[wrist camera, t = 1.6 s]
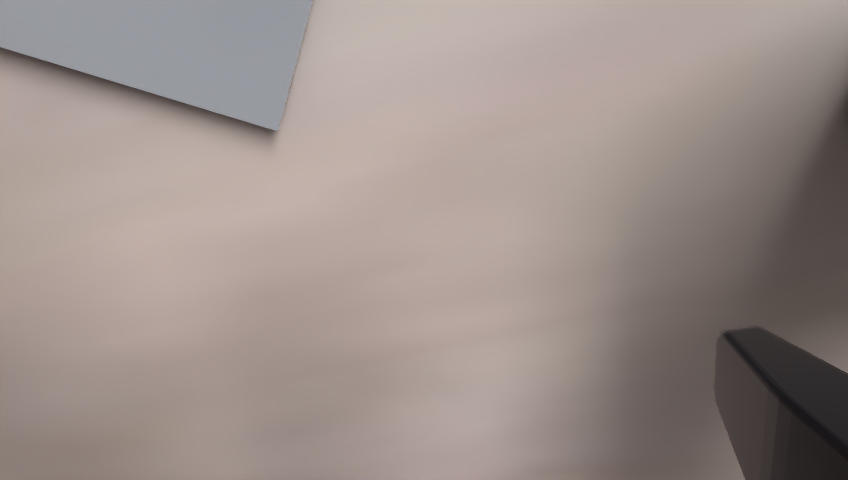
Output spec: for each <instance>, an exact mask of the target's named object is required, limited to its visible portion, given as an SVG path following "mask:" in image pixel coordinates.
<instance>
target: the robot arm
mask: <svg viewBox="0 0 848 480" xmlns="http://www.w3.org/2000/svg"><path fill="white" fill-rule="evenodd" d="M714 390H715V397H716V402H717V406H718V409H719V412H720V414H721V417H722V420H723V422H724V425H725V427H726V430H727V433H728V435H729V438H730V440H731V443H732V446H733V448H734V451H735V454H736V456H737V459H738V461H739V464H740V467H741V469H742V472H743V475H744V477H745V480H848V374H847V373H846V372H844V371H842V370H840V369H838V368H836V367H834V366H833V365H831V364H829V363H827V362H825V361H823V360H821V359H819V358H818V357H816V356H814V355H812V354H810V353H808V352H806V351H805V350H803V349H801V348H799V347H797V346H795V345H793V344H791V343H790V342H788V341H786V340H784V339H782V338H780V337H778V336H777V335H775V334H773V333H771V332H769V331H767V330H765V329H764V328H761V327H759V326H746V327H739V328H732V329H725V330H723V331H722V332H721V333H720V334H719V336H718V338H717V344H716V364H715V383H714Z"/></svg>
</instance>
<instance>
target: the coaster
mask: <svg viewBox="0 0 848 480" xmlns="http://www.w3.org/2000/svg"><path fill="white" fill-rule="evenodd" d="M312 4H313V0H0V47H2V48H5V49H8V50H11V51H15V52H18V53H21V54H25V55H28V56H31V57H35V58H38V59H41V60H44V61H48V62H51V63H54V64H58V65H61V66H64V67H67V68H71V69H74V70H77V71H81V72H84V73H87V74H90V75H94V76H97V77H100V78H104V79H107V80H110V81H114V82H117V83H120V84H123V85H127V86H130V87H133V88H137V89H140V90H143V91H146V92H150V93H153V94H156V95H160V96H163V97H166V98H170V99H173V100H176V101H179V102H183V103H186V104H189V105H193V106H196V107H199V108H202V109H206V110H209V111H212V112H216V113H219V114H222V115H226V116H229V117H232V118H235V119H239V120H242V121H245V122H249V123H252V124H255V125H258V126H262V127H265V128H268V129H272V130H275V131H278V129H279V127H280V124H281V121H282V117H283V113H284V109H285V105H286V102H287V98H288V94H289V90H290V87H291V83H292V79H293V75H294V72H295V68H296V64H297V60H298V57H299V53H300V49H301V45H302V42H303V38H304V34H305V30H306V26H307V23H308V19H309V15H310V11H311V8H312Z"/></svg>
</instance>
